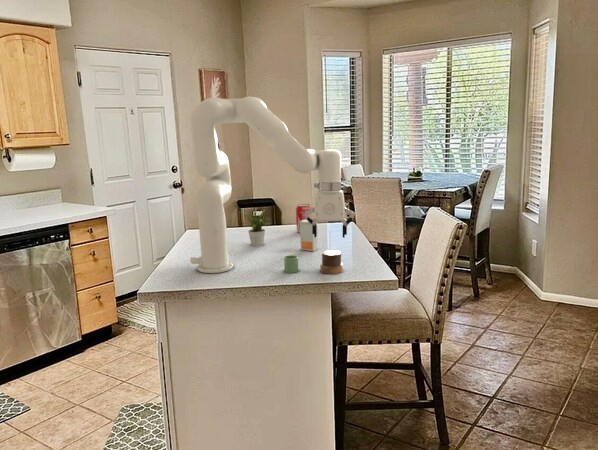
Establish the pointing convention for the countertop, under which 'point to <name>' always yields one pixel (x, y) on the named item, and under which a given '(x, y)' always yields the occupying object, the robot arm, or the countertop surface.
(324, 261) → the brown round canister
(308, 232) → the cosmetic box
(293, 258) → the plastic cup
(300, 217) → the soda can
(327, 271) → the oak chip
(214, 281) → the countertop surface
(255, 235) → the house plant
